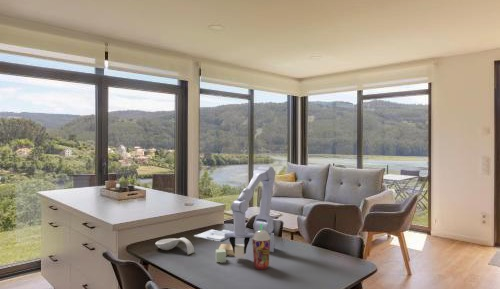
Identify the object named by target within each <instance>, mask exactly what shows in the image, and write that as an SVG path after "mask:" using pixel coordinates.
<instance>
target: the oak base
mask: <svg viewBox="0 0 500 289" xmlns="http://www.w3.org/2000/svg"><path fill="white" fill-rule="evenodd" d="M236 244H237V243H235V245H236ZM218 249H225V251H226V256H227V255H229V256H233V257H235V253H234V252H233V248H232V245H231V243H221V244H220V245H219V247H218ZM229 256H228V257H229Z"/></svg>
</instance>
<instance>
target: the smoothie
mask: <svg viewBox="0 0 500 289" xmlns="http://www.w3.org/2000/svg"><path fill="white" fill-rule="evenodd" d="M253 234H254V235H253V237H252V238H251V239H252V251H253V252H252V253H253V265H254V267H255V269H257V270H265V269H267V268H268V266H270V265H269V264H270V253H271V252H270V239H271V238H270V236H269V234H268V232H267V231H265V230H262V224H261V230H258V231H255V232H254V233H253Z"/></svg>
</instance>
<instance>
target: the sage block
mask: <svg viewBox="0 0 500 289" xmlns="http://www.w3.org/2000/svg"><path fill="white" fill-rule="evenodd" d="M215 262H220V263H226V262H227V255H226V251H225V249H219V248H218V249H215Z"/></svg>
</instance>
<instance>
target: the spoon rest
mask: <svg viewBox="0 0 500 289" xmlns="http://www.w3.org/2000/svg"><path fill="white" fill-rule="evenodd" d="M179 242H182V243H184V244H185V246H186V252H187V255H188V256H189V255H192V254H194V253H195V248H194V245H193V244H192V242H191V241H190V240H189V239H187V238H186V237H180V238H163V239H160V240H157V241H156V242H155V243H154V244H155V246H156V247H157V248H159V249H160V250H163V251H169V250H173V249H174V248H175V247H176V246H177V245H178V244H179Z"/></svg>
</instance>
